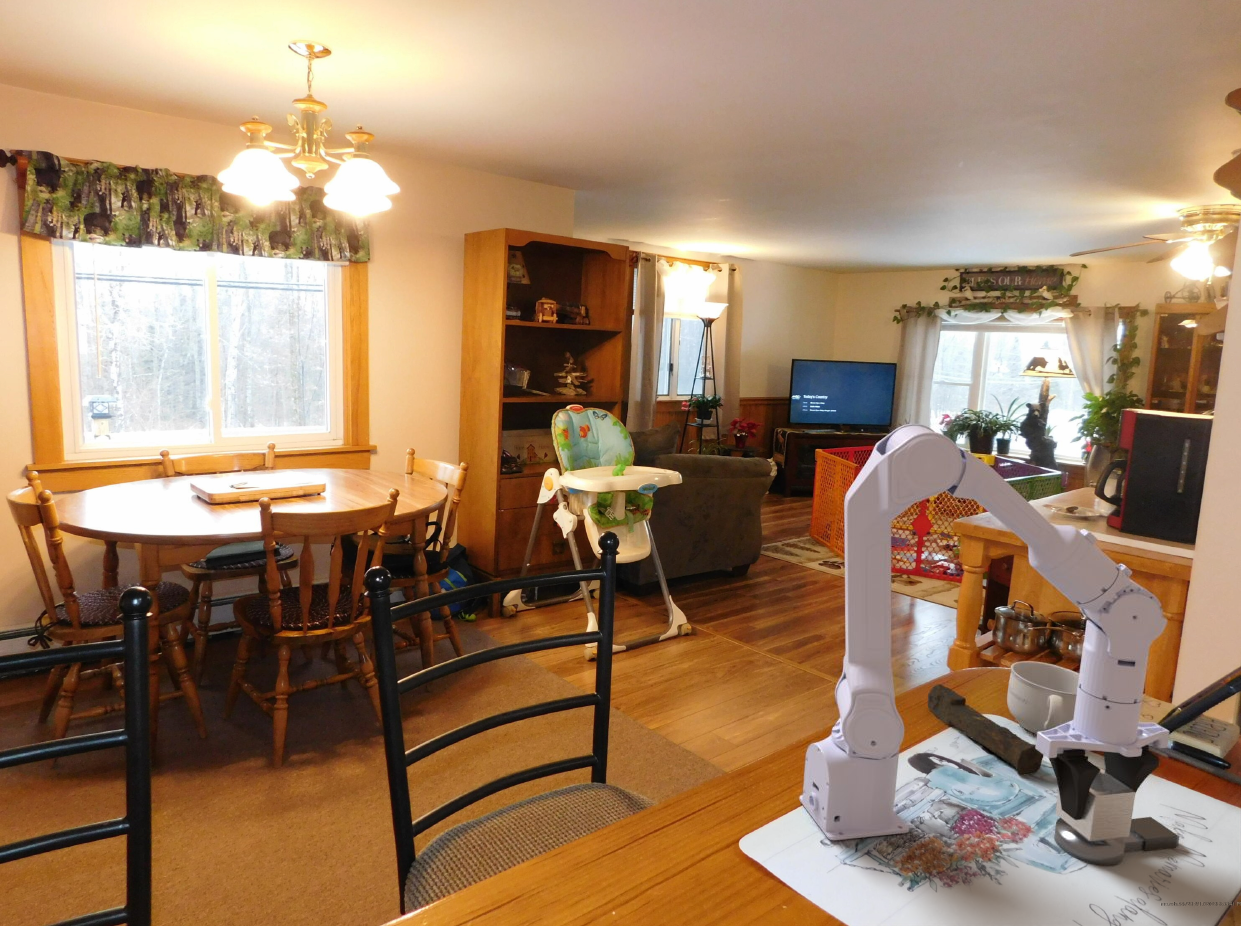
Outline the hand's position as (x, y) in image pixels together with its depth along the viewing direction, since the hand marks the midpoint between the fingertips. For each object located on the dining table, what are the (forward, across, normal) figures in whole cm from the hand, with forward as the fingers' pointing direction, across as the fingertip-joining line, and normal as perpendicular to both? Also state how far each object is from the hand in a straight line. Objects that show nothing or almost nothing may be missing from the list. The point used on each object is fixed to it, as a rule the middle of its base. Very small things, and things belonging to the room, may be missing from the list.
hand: (1092, 812), depth 84 cm
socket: (+1, 0, 0) cm, 1 cm away
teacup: (+4, +14, +23) cm, 27 cm away
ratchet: (+4, +3, 0) cm, 5 cm away
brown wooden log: (+4, +2, +23) cm, 23 cm away
